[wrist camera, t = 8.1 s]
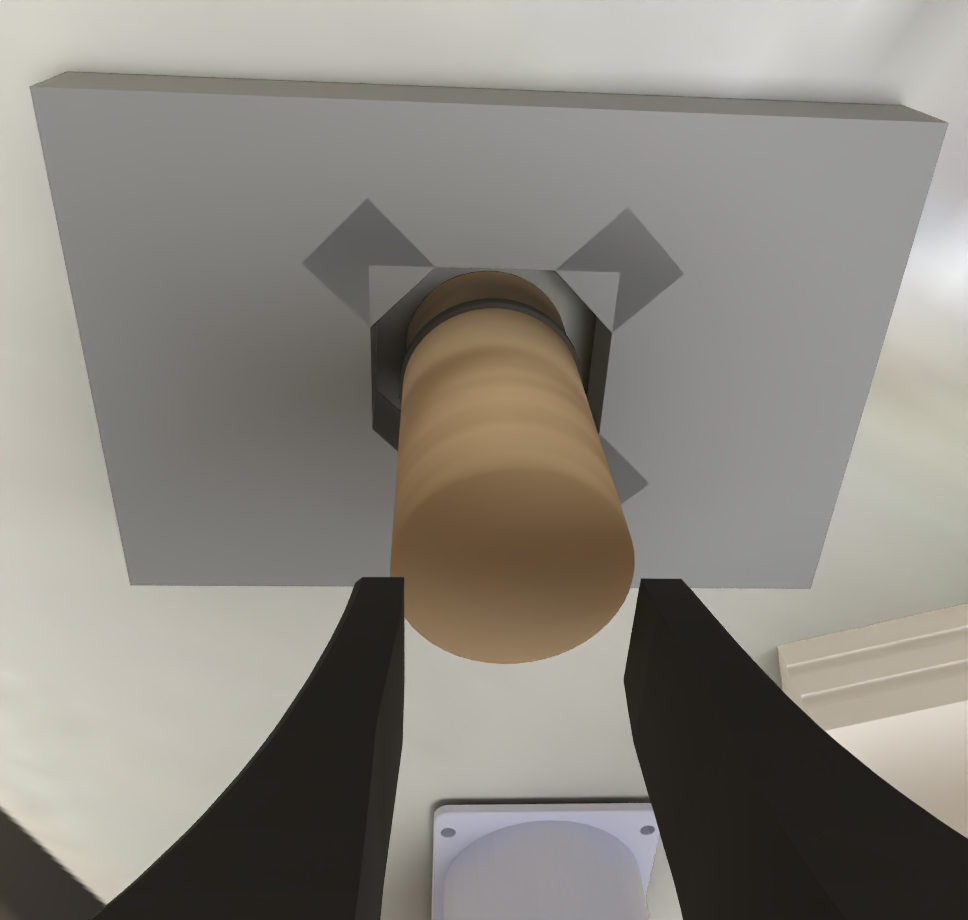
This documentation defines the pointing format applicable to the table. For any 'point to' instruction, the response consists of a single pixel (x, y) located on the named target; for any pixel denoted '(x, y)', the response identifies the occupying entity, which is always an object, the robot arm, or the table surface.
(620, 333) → the slate board
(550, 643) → the oak peg
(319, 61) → the table surface
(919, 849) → the robot arm
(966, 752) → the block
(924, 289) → the table surface
